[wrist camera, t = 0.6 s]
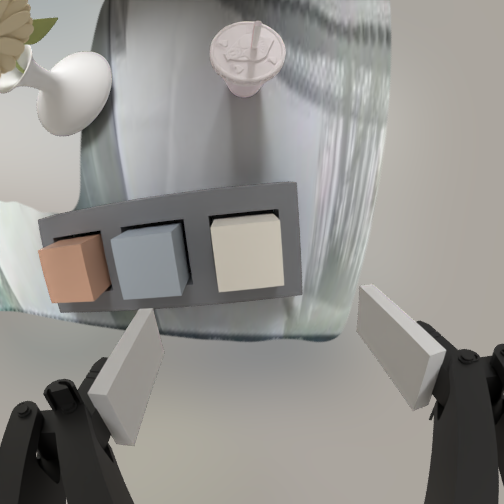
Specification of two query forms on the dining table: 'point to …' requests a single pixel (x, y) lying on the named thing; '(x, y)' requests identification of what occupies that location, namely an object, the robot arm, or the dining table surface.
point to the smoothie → (247, 56)
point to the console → (197, 236)
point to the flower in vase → (51, 73)
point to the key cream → (247, 252)
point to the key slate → (151, 261)
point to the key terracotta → (75, 269)
